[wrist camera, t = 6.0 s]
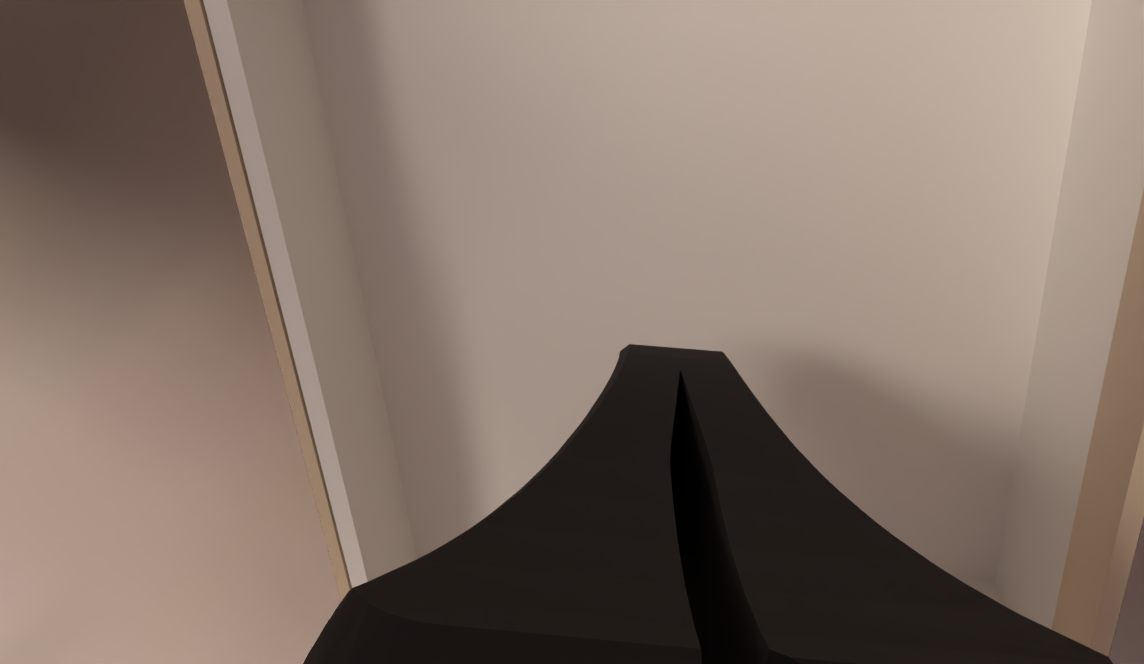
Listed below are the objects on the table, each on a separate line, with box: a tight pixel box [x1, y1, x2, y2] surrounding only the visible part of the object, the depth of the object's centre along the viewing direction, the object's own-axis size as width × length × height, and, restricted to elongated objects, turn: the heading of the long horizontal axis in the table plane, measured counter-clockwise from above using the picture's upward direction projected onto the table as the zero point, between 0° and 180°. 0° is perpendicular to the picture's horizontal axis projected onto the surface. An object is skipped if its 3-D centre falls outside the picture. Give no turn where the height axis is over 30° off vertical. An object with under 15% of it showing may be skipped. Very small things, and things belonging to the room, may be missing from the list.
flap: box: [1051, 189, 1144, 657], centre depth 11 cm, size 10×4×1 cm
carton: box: [184, 0, 1144, 629], centre depth 15 cm, size 14×12×3 cm
